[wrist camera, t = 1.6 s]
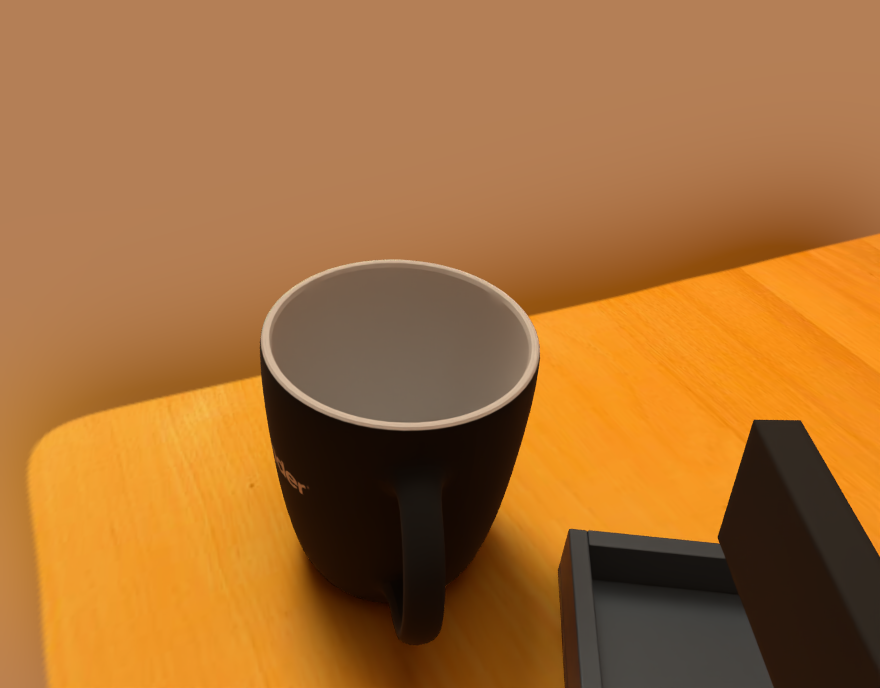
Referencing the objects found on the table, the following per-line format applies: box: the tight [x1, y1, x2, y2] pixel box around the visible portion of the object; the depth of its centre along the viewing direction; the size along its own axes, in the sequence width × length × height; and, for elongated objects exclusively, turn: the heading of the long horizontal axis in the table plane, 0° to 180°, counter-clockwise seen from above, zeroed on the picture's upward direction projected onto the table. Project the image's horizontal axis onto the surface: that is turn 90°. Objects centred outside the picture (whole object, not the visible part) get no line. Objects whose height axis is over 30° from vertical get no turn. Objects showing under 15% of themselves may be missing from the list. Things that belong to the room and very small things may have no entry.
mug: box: [260, 260, 540, 645], centre depth 28 cm, size 12×9×10 cm
